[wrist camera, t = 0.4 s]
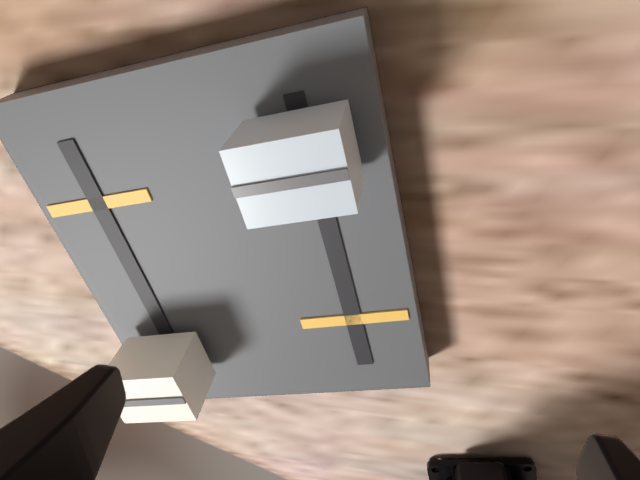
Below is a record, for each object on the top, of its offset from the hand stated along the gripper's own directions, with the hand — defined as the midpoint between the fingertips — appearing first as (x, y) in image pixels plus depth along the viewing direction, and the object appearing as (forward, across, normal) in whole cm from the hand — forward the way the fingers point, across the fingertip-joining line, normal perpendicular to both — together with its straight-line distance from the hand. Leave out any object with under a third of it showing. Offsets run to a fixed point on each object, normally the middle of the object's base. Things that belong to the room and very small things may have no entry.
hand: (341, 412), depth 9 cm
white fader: (+11, +3, -1) cm, 12 cm away
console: (+14, +6, +5) cm, 16 cm away
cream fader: (+11, +10, +12) cm, 19 cm away
